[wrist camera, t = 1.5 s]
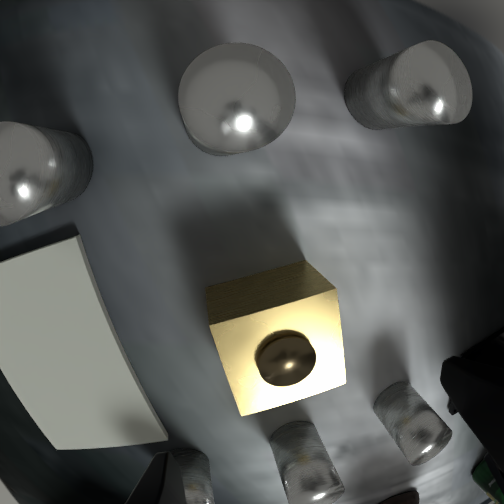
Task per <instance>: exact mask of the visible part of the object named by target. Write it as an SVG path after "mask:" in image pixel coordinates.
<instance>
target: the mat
mask: <svg viewBox="0 0 504 504" xmlns="http://www.w3.org/2000/svg"><path fill="white" fill-rule="evenodd" d="M0 368H1V370H2V372H3V374H4V375H5V377H6V379H7V380H8V382H9V384H10V385H11V387H12V388H13V390H14V392H15V393H16V395H17V396H18V398H19V399H20V401H21V402H22V404H23V405H24V407H25V408H26V410H27V411H28V412H29V414H30V415H31V417H32V418H33V420H34V421H35V422H36V424H37V425H38V426H39V428H40V429H41V430H42V432H43V433H44V434H45V436H46V437H47V438H48V439H49V441H50V442H51V443H52V444H53V446H54V447H55V448H56V449H89V448H105V447H117V446H127V445H137V444H145V443H153V442H160V441H166V440H168V433H167V431H166V430H165V428H164V426H163V424H162V423H161V421H160V419H159V417H158V416H157V414H156V412H155V410H154V408H153V407H152V405H151V403H150V401H149V399H148V397H147V395H146V394H145V392H144V390H143V388H142V386H141V384H140V382H139V380H138V378H137V376H136V374H135V372H134V370H133V368H132V366H131V364H130V362H129V359H128V357H127V355H126V353H125V351H124V349H123V347H122V344H121V342H120V340H119V338H118V335H117V333H116V331H115V328H114V326H113V324H112V321H111V319H110V317H109V314H108V312H107V309H106V307H105V304H104V302H103V299H102V297H101V294H100V291H99V289H98V286H97V284H96V281H95V278H94V275H93V273H92V270H91V267H90V264H89V261H88V258H87V255H86V252H85V249H84V246H83V243H82V240H81V237H80V235H77V236H74V237H71V238H68V239H65V240H62V241H59V242H56V243H53V244H50V245H47V246H44V247H41V248H38V249H35V250H32V251H29V252H26V253H24V254H21V255H18V256H15V257H13V258H10V259H7V260H4V261H2V262H0Z"/></svg>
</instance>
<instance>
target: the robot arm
mask: <svg viewBox="0 0 504 504" xmlns="http://www.w3.org/2000/svg"><path fill="white" fill-rule="evenodd" d="M440 381H441V384H442V386H443V388H444V389H445V391H446V393H447V394H448V396H449V397H450V399H451V404H450V407H449V412H450V414H451V415H454V414H456V413H457V412H459V414H460V415H461V417H462V418H463V419H464V421H465V422H466V423H467V425H468V426H469V427H470V429H471V430H472V431H473V433H474V434H475V435H476V437H477V438H478V439H479V440H480V442H481V443H482V445H483V446H484V447H485V449H486V450H487V451H488V453H487V454H486V455H485V456H484V459H485V461H486V463H487V466H488V468H489V470H490V471H491V473H492V475H493V477H494V479H495V480H496V482H497V484H498V486H499V488H500V490H501V492H502V493H503V495H504V328H503V329H502V330H500V331H499V332H497V333H496V334H494V335H492V336H491V337H489V338H488V339H486V340H485V341H483V342H481V343H480V344H478V345H477V346H475V347H473V348H472V349H470V350H468V351H467V352H465V353H464V354H463V355H462V357H461V358H460V357H457V356H451V357H450V358H448V359H446V360H444V362H443V364H442V370H441V376H440ZM125 504H187V502H186V496H185V491H184V485H183V479H182V473H181V469H180V466H179V465H178V463H177V462H176V460H175V459H174V457H173V456H172V454H171V453H170V452H168V451H166V452H158V453H156V454H155V455H154V457H153V459H152V460H151V462H150V464H149V465H148V467H147V469H146V470H145V472H144V474H143V475H142V477H141V478H140V480H139V482H138V483H137V485H136V487H135V488H134V490H133V492H132V493H131V495H130V496H129V498H128V500H127V501H126V503H125Z"/></svg>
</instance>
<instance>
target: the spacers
mask: <svg viewBox="0 0 504 504" xmlns="http://www.w3.org/2000/svg"><path fill="white" fill-rule="evenodd" d="M295 101H296V97H295V88H294V84H293V81H292V78H291V76H290V74H289V72H288V70H287V69H286V67H285V66H284V65H283V64H282V62H281V61H280V60H279V59H278V58H276V57H275V56H274V55H273V54H271V53H270V52H268V51H266V50H265V49H263V48H260V47H258V46H255V45H251V44H246V43H226V44H221V45H217V46H215V47H212V48H210V49H208V50H206V51H204V52H203V53H201V54H200V55H198V56H197V57H196V58H195V59H194V60H193V61H192V62H191V63H190V65H189V66H188V67H187V69H186V70H185V72H184V74H183V76H182V78H181V82H180V85H179V91H178V102H179V108H180V112H181V115H182V119H183V122H184V125H185V129H186V132H187V134H188V137H189V138H190V140H191V141H192V143H193V144H194V145H195V146H196V147H197V148H199V149H200V150H202V151H203V152H205V153H208V154H210V155H215V156H228V155H233V154H238V153H243V152H247V151H252V150H255V149H259V148H261V147H263V146H266V145H267V144H269V143H271V142H272V141H274V140H275V139H276V138H278V137H279V136H280V135H281V134H282V133H283V131H284V130H285V129H286V127H287V126H288V124H289V122H290V121H291V118H292V116H293V113H294V109H295ZM345 101H346V105H347V107H348V110H349V112H350V113H351V115H352V116H353V117H354V119H355V120H356V121H357V122H358V123H360V124H361V125H363V126H364V127H366V128H369V129H372V130H382V129H392V128H402V127H413V126H425V125H440V124H455V123H458V122H461V121H462V120H463V119H465V118H466V116H467V115H468V113H469V111H470V108H471V104H472V86H471V81H470V78H469V75H468V72H467V70H466V68H465V66H464V64H463V63H462V61H461V60H460V58H459V57H458V56H457V55H456V53H455V52H454V51H453V50H451V49H450V48H449V47H448V46H446V45H444V44H443V43H440V42H438V41H432V40H429V41H425V42H422V43H419V44H417V45H414V46H412V47H410V48H407V49H405V50H402V51H400V52H398V53H395V54H393V55H391V56H388V57H386V58H384V59H382V60H380V61H377V62H375V63H373V64H371V65H369V66H366V67H364V68H362V69H360V70H358V71H356V72H354V73H353V74H352V75H351V76H350V77H349V79H348V81H347V83H346V86H345ZM92 173H93V156H92V153H91V150H90V148H89V146H88V144H87V143H86V142H85V141H84V140H83V139H82V138H81V137H80V136H78V135H76V134H73V133H70V132H65V131H60V130H55V129H49V128H44V127H39V126H33V125H28V124H22V123H16V122H8V121H4V122H0V226H5V225H9V224H12V223H14V222H17V221H19V220H22V219H24V218H27V217H29V216H32V215H34V214H37V213H39V212H42V211H45V210H47V209H50V208H53V207H55V206H58V205H61V204H63V203H66V202H69V201H72V200H74V199H75V198H77V197H78V196H80V195H81V194H82V193H83V192H84V191H85V189H86V188H87V186H88V185H89V182H90V180H91V177H92ZM374 412H375V414H376V415H377V417H378V418H379V420H380V421H381V422H382V424H383V425H384V427H385V428H386V430H387V431H388V432H389V434H390V435H391V437H392V438H393V440H394V441H395V442H396V444H397V445H398V447H399V448H400V450H401V451H402V452H403V454H404V455H405V457H406V458H407V460H408V461H409V462H410V464H411V465H420V464H423V463H425V462H427V461H429V460H430V459H432V458H433V457H435V456H436V455H437V454H438V453H439V452H440V451H441V450H443V448H444V447H445V446H446V445H447V444H448V442H449V441H450V439H451V437H452V430H451V429H450V428H449V427H448V426H447V425H446V424H445V422H444V421H443V420H442V419H441V418H440V417H439V416H438V415H437V413H436V412H435V411H434V410H433V409H432V408H431V407H430V406H429V405H428V404H427V402H426V401H425V400H424V399H423V398H422V397H421V396H420V395H419V394H418V392H417V391H416V390H415V389H414V388H413V387H412V386H411V385H410V384H409V383H408V382H399V383H396V384H393V385H391V386H390V387H388V388H387V389H386V390H384V391H383V392H382V393H381V394H380V396H379V397H378V398H377V400H376V402H375V404H374ZM270 445H271V448H272V451H273V455H274V458H275V461H276V464H277V468H278V471H279V474H280V477H281V480H282V483H283V487H284V490H285V493H286V496H287V499H288V502H289V504H331V503H333V502H335V501H336V500H337V499H339V498H340V497H341V496H342V494H343V493H344V490H345V488H344V486H343V484H342V482H341V480H340V478H339V476H338V473H337V471H336V469H335V467H334V465H333V463H332V461H331V459H330V457H329V455H328V453H327V451H326V448H325V446H324V444H323V442H322V440H321V438H320V436H319V434H318V432H317V429H316V427H315V426H314V425H313V424H311V423H309V422H304V421H299V422H293V423H289V424H287V425H284V426H282V427H281V428H279V429H278V430H276V431H275V432H274V433H273V435H272V436H271V439H270ZM169 452H170V453H171V454H172V456H173V457H174V459H175V460H176V462H177V463H178V465H179V466H180V469H181V473H182V479H183V485H184V491H185V496H186V502H187V504H214V498H213V490H212V481H211V473H210V464H209V459H208V457H207V456H206V455H204V454H203V453H201V452H199V451H196V450H192V449H176V450H172V451H169Z"/></svg>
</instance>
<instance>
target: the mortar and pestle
mask: <svg viewBox="0 0 504 504" xmlns="http://www.w3.org/2000/svg"><path fill="white" fill-rule="evenodd" d="M380 504H419V493H418V492H417V491H411V492H407V493H404V494H401V495H397V496H394V497H391V498H389V499H387V500H385V501H384V502H382V503H380Z"/></svg>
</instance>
